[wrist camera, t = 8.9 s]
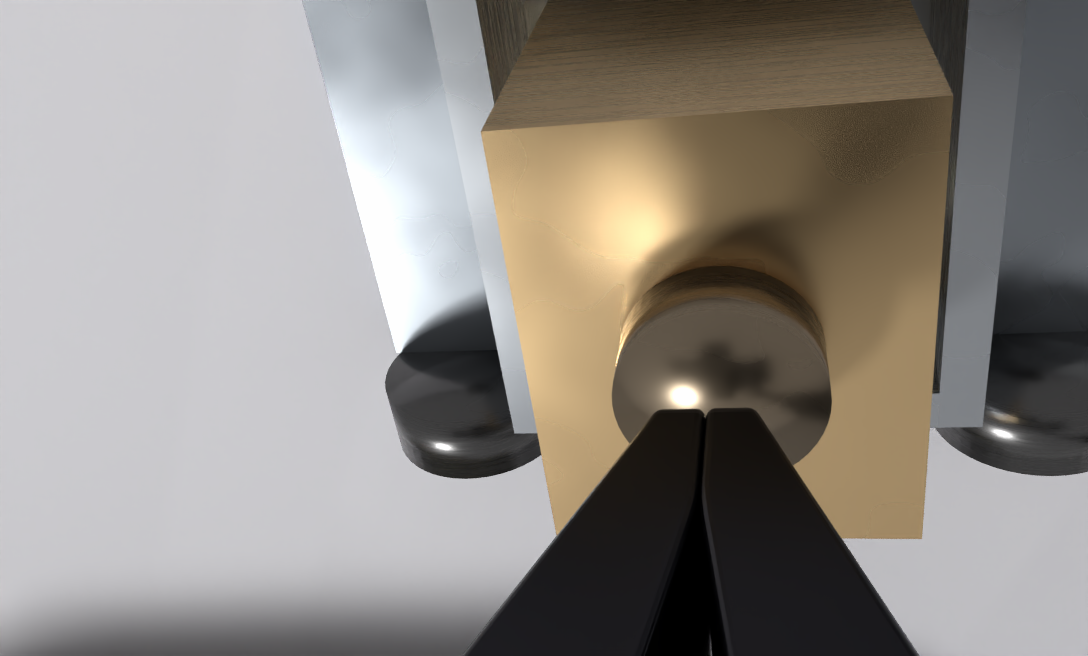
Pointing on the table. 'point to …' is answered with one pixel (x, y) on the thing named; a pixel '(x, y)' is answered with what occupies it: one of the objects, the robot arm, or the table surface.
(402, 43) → the chassis
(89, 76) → the table surface
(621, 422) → the wooden block with knob
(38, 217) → the table surface
